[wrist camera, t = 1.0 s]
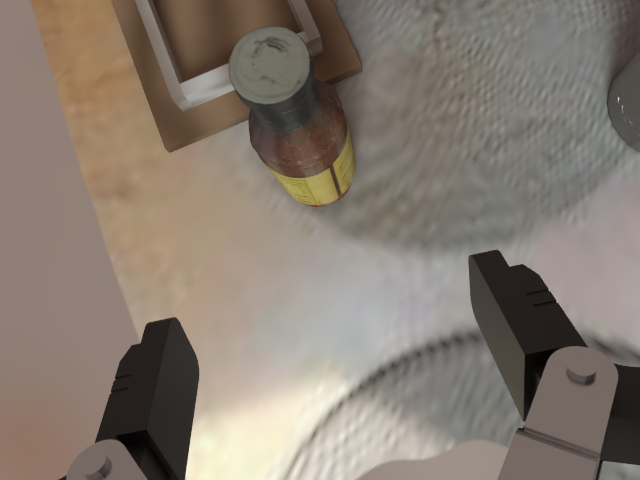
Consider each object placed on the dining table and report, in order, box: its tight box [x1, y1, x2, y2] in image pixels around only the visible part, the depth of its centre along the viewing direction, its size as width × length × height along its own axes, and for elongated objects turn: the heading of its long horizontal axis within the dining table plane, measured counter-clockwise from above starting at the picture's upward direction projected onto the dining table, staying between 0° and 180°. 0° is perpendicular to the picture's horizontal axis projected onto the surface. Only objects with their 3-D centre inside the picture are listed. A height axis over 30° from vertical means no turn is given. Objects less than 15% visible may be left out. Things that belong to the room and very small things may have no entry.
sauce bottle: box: [229, 26, 355, 207], centre depth 35 cm, size 6×6×20 cm
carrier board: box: [111, 0, 362, 153], centre depth 46 cm, size 18×18×4 cm
